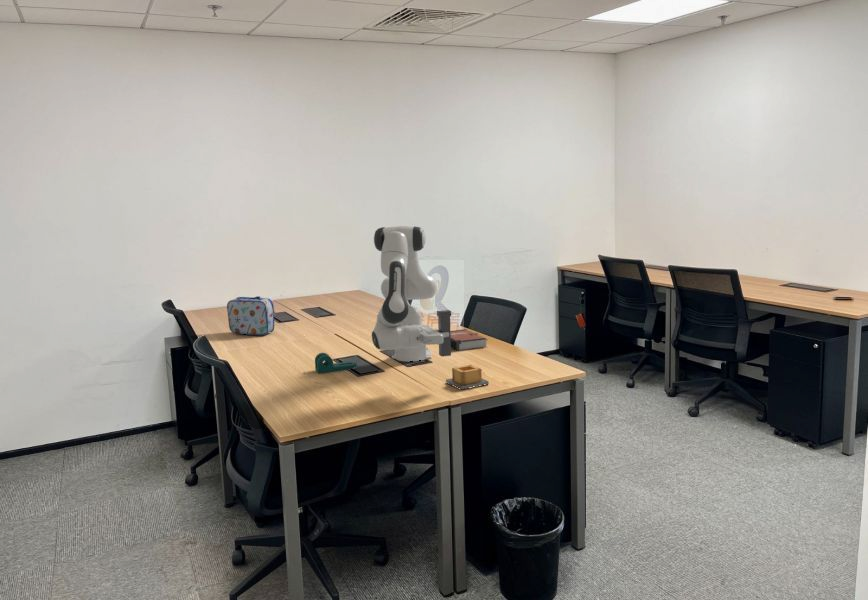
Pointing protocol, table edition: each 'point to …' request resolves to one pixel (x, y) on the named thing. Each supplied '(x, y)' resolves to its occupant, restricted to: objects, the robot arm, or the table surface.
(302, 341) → the table surface
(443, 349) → the tall dark grey post
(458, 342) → the book
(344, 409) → the table surface
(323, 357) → the bracket
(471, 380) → the frame on grey plate
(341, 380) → the table surface
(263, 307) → the lunch box
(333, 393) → the table surface
